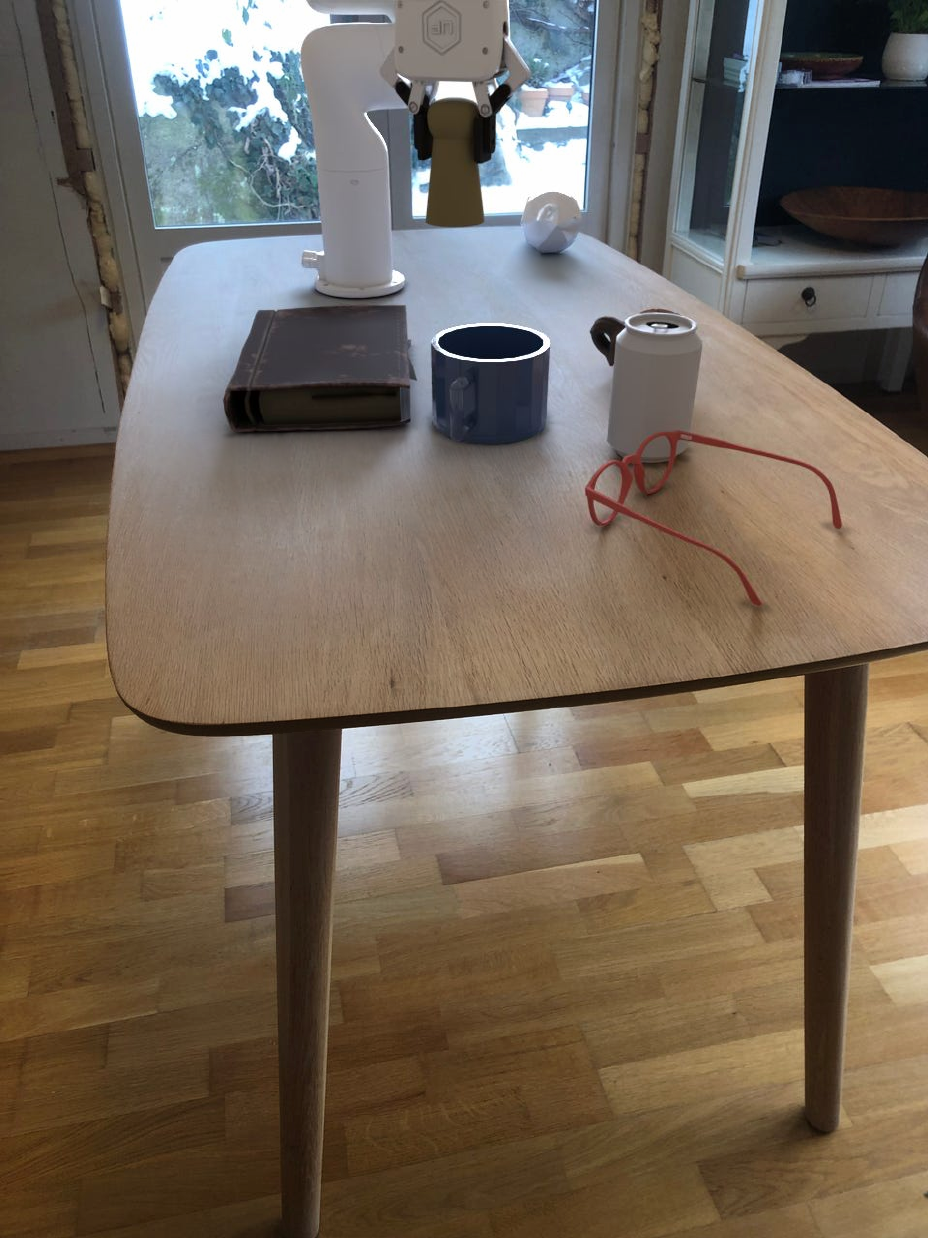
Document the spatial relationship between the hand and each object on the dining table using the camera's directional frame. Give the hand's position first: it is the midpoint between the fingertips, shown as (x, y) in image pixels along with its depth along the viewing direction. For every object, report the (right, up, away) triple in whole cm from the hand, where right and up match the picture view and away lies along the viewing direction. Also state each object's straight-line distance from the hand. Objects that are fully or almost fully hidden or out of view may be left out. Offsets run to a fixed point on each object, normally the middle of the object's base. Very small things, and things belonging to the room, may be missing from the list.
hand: (454, 157), depth 93 cm
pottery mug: (+20, -19, +12) cm, 30 cm away
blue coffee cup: (+3, -27, 0) cm, 27 cm away
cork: (0, -5, +3) cm, 6 cm away
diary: (-14, -20, +9) cm, 26 cm away
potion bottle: (+14, +15, +60) cm, 64 cm away
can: (+18, -30, -4) cm, 35 cm away
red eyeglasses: (+20, -39, -18) cm, 47 cm away
